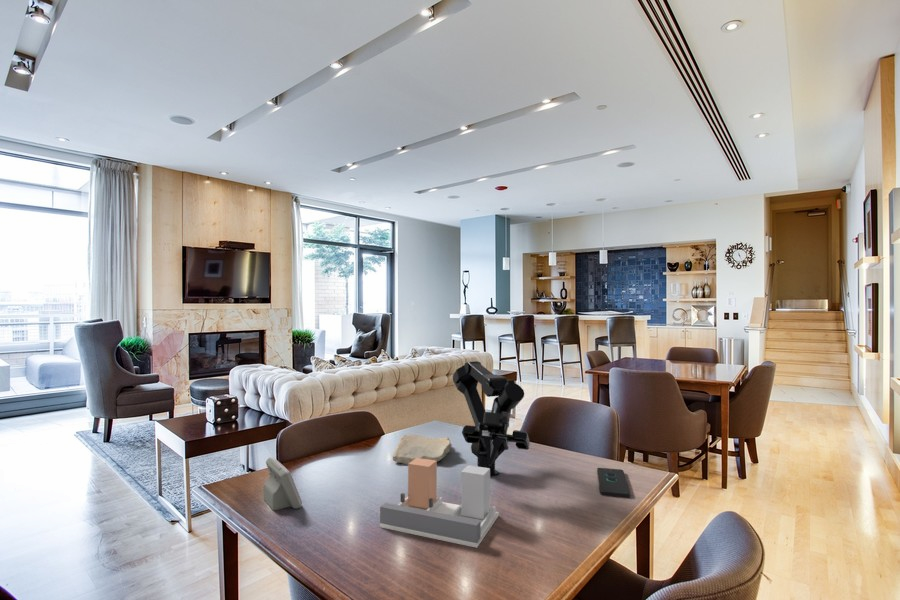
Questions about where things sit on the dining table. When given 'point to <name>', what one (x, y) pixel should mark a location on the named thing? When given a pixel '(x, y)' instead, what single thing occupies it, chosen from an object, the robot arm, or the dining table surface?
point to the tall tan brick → (422, 482)
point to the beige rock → (421, 448)
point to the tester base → (436, 521)
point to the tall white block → (475, 492)
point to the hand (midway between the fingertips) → (489, 464)
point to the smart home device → (613, 483)
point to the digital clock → (280, 487)
